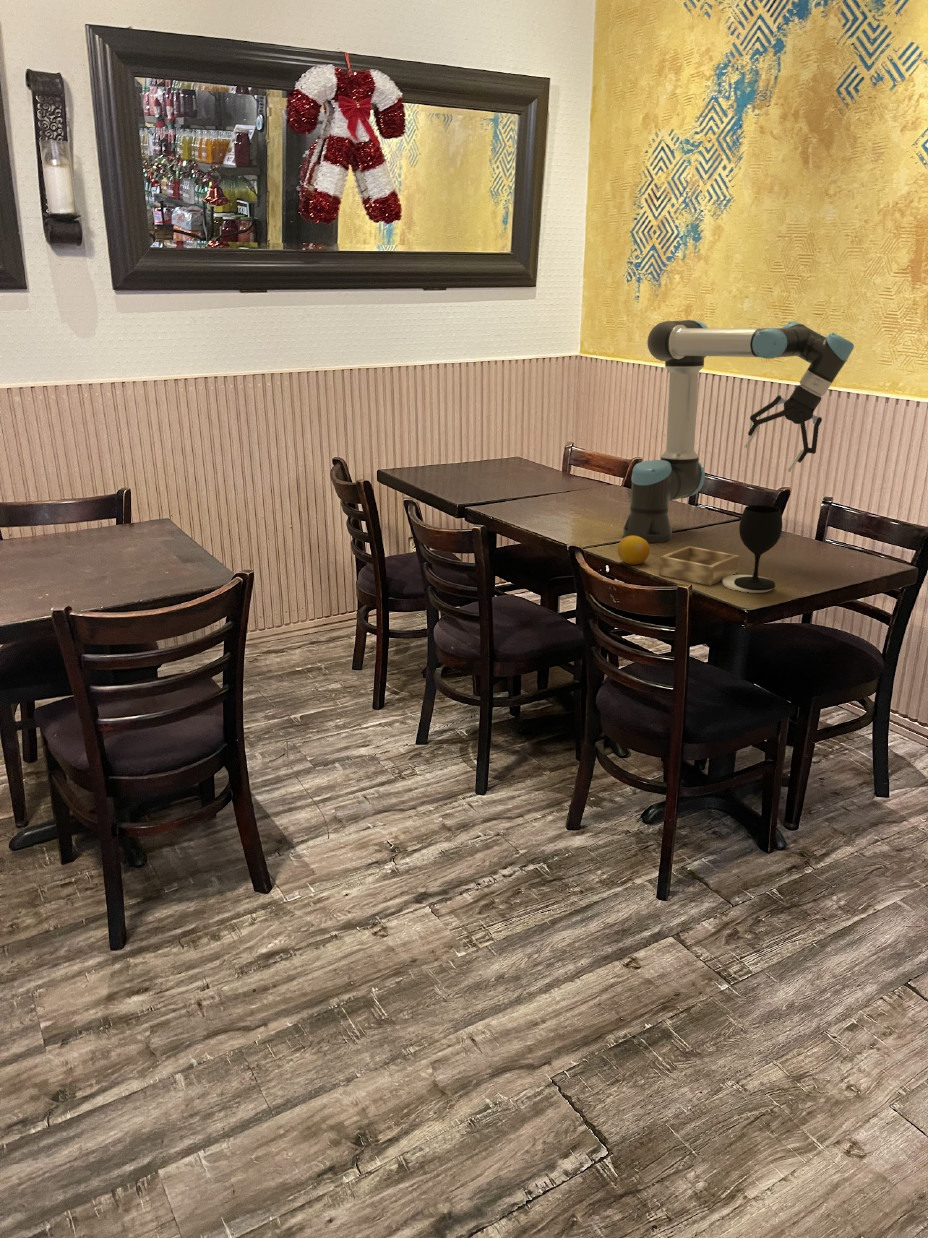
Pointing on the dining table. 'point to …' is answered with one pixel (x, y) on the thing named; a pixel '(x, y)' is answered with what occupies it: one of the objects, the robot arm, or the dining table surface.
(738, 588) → the plate
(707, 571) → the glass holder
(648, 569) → the dining table surface
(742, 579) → the wine glass
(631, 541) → the fruit
